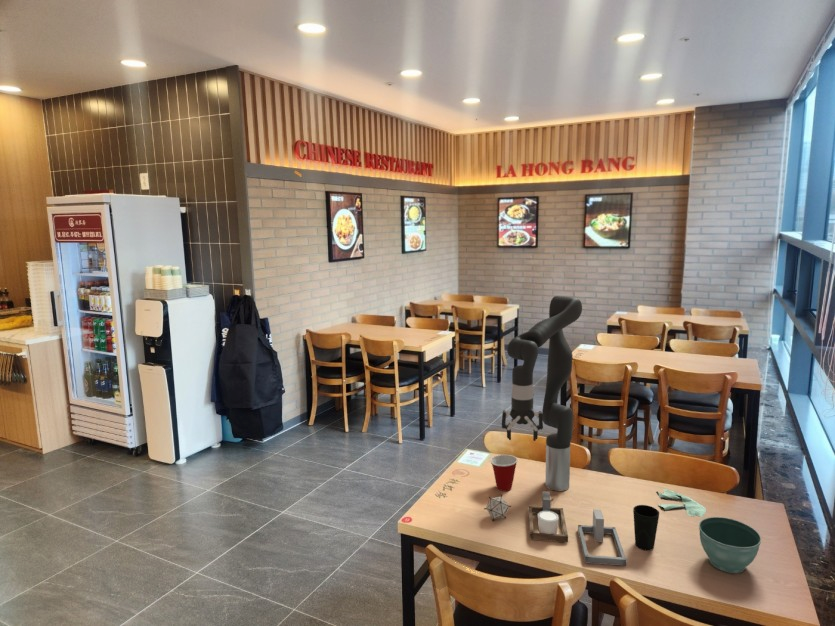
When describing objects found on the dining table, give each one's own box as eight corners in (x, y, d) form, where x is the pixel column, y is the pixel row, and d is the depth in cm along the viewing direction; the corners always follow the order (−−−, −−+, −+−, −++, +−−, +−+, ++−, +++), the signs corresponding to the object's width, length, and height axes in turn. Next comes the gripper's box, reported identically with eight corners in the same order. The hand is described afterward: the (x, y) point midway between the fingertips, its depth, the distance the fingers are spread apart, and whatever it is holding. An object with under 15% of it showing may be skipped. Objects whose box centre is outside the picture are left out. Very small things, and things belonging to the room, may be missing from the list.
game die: (501, 529, 193) (510, 517, 186) (479, 519, 194) (486, 507, 187) (507, 507, 199) (515, 494, 192) (485, 498, 200) (492, 485, 193)
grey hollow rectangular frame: (577, 530, 184) (578, 508, 183) (614, 532, 182) (615, 510, 181) (585, 562, 167) (585, 538, 165) (626, 565, 165) (627, 541, 163)
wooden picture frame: (528, 511, 197) (528, 490, 196) (562, 513, 195) (563, 492, 194) (530, 539, 179) (530, 517, 178) (568, 542, 177) (568, 519, 176)
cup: (655, 555, 170) (657, 519, 168) (629, 548, 174) (631, 513, 172) (659, 542, 176) (661, 508, 174) (634, 536, 180) (635, 502, 178)
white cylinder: (559, 531, 184) (559, 512, 183) (557, 542, 178) (557, 522, 177) (538, 527, 187) (539, 508, 185) (535, 538, 180) (536, 519, 179)
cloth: (711, 522, 189) (711, 516, 188) (643, 513, 196) (643, 507, 195) (701, 495, 208) (702, 489, 207) (639, 487, 215) (640, 481, 214)
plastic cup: (496, 478, 223) (496, 451, 221) (521, 485, 217) (521, 456, 215) (485, 490, 214) (485, 461, 212) (511, 496, 208) (511, 467, 206)
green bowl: (771, 579, 157) (774, 545, 156) (717, 583, 156) (720, 548, 154) (735, 547, 173) (737, 515, 171) (686, 550, 172) (688, 518, 170)
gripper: (542, 392, 193) (541, 436, 196) (501, 392, 195) (501, 435, 198) (544, 399, 186) (543, 444, 188) (501, 398, 188) (501, 443, 190)
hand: (522, 439), depth 193 cm, fingers open, 8 cm apart
